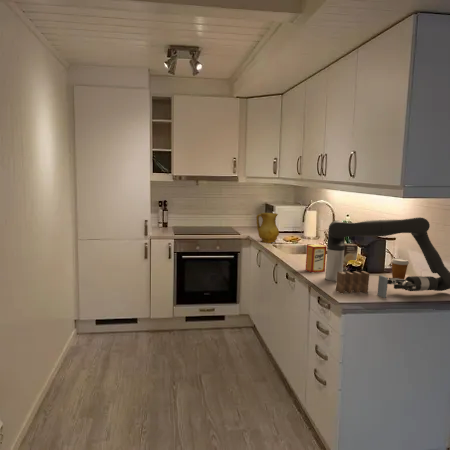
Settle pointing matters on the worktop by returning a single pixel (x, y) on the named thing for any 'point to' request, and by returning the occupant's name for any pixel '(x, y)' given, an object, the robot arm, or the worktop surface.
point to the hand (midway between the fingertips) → (389, 284)
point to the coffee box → (349, 253)
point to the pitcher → (267, 227)
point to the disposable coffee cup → (399, 268)
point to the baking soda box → (315, 258)
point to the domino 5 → (382, 286)
